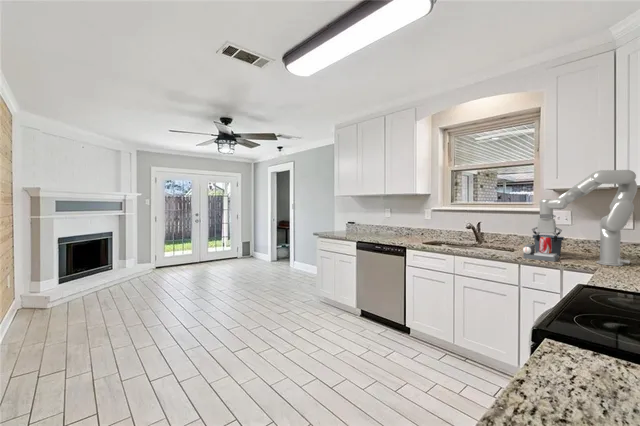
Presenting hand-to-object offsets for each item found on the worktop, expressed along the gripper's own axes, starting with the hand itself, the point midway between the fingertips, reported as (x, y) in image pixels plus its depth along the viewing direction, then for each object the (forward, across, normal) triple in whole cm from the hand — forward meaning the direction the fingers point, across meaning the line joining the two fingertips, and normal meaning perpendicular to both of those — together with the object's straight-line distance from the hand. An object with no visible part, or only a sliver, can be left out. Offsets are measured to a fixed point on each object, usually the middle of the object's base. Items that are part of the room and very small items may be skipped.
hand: (546, 241), depth 216 cm
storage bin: (+13, +4, -24) cm, 28 cm away
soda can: (+9, +1, 0) cm, 9 cm away
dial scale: (+13, +3, 0) cm, 13 cm away
